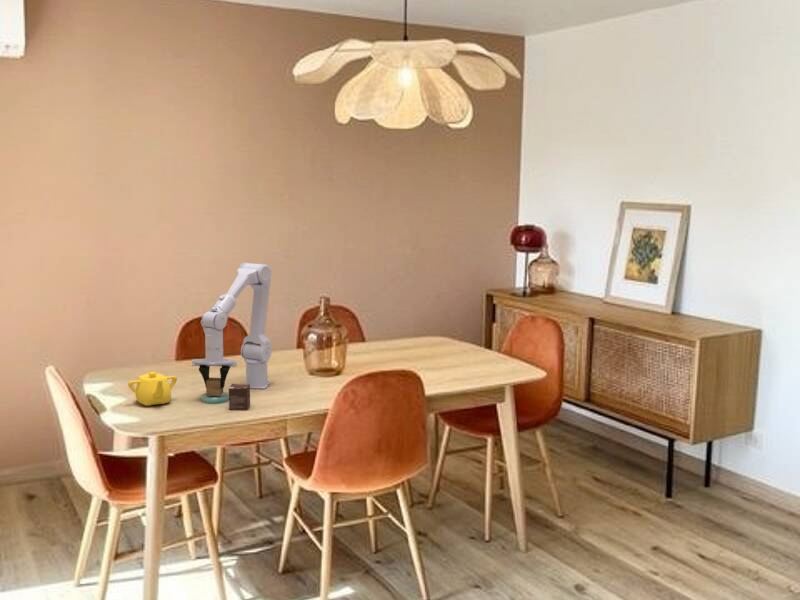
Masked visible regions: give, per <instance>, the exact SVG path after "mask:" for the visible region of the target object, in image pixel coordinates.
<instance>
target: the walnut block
mask: <svg viewBox="0 0 800 600" xmlns="http://www.w3.org/2000/svg"><path fill="white" fill-rule="evenodd" d="M205 391H206V392H205V393H206V396H220V395H221V394H222V393H223V392H224V388H221V377H209V379H208V380H207V381H206V386H205Z"/></svg>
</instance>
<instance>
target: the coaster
mask: <svg viewBox="0 0 800 600" xmlns="http://www.w3.org/2000/svg"><path fill="white" fill-rule="evenodd" d="M200 396H201V397H200V398H201V402H202V404H207V405H220V404H225V403H227V402H229V392H225V391H223V393H222V394H221V395H220V396H206V392H204V393H203V394H201V395H200Z"/></svg>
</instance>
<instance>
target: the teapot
mask: <svg viewBox="0 0 800 600" xmlns="http://www.w3.org/2000/svg"><path fill="white" fill-rule="evenodd" d="M168 380H171V383H170V384H169V381H168ZM177 380H178V377H177V376H176V375H169V376H168V375H167V376H165V374H162V373H157V372H156V371H150V372H148V373H144V374H141V375H139V376H138V379H137V380H136V379H135V380H130V381H129V380H128V382H127V385H128V388H129V389H130V390H131V392H133V393H134V394H135V398H136V400H137V402H138V403H140V404H142V405H144V406H145V407H151V406H154V405H166V404H167V403H169V402H170V400H171V398H172V392H171V390H172V389H173V388H174V386H175V385H176V383H177ZM134 384H136V386H134ZM165 403H166V404H165Z"/></svg>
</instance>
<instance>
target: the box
mask: <svg viewBox="0 0 800 600" xmlns="http://www.w3.org/2000/svg"><path fill="white" fill-rule="evenodd" d="M228 394H229V401H228V408H229V410H230V411H241V410H242V411H243V410H245V411H247V410H249V408H250V406H251V388H250V384H246V383H231V384H230V386H229V388H228Z"/></svg>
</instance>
